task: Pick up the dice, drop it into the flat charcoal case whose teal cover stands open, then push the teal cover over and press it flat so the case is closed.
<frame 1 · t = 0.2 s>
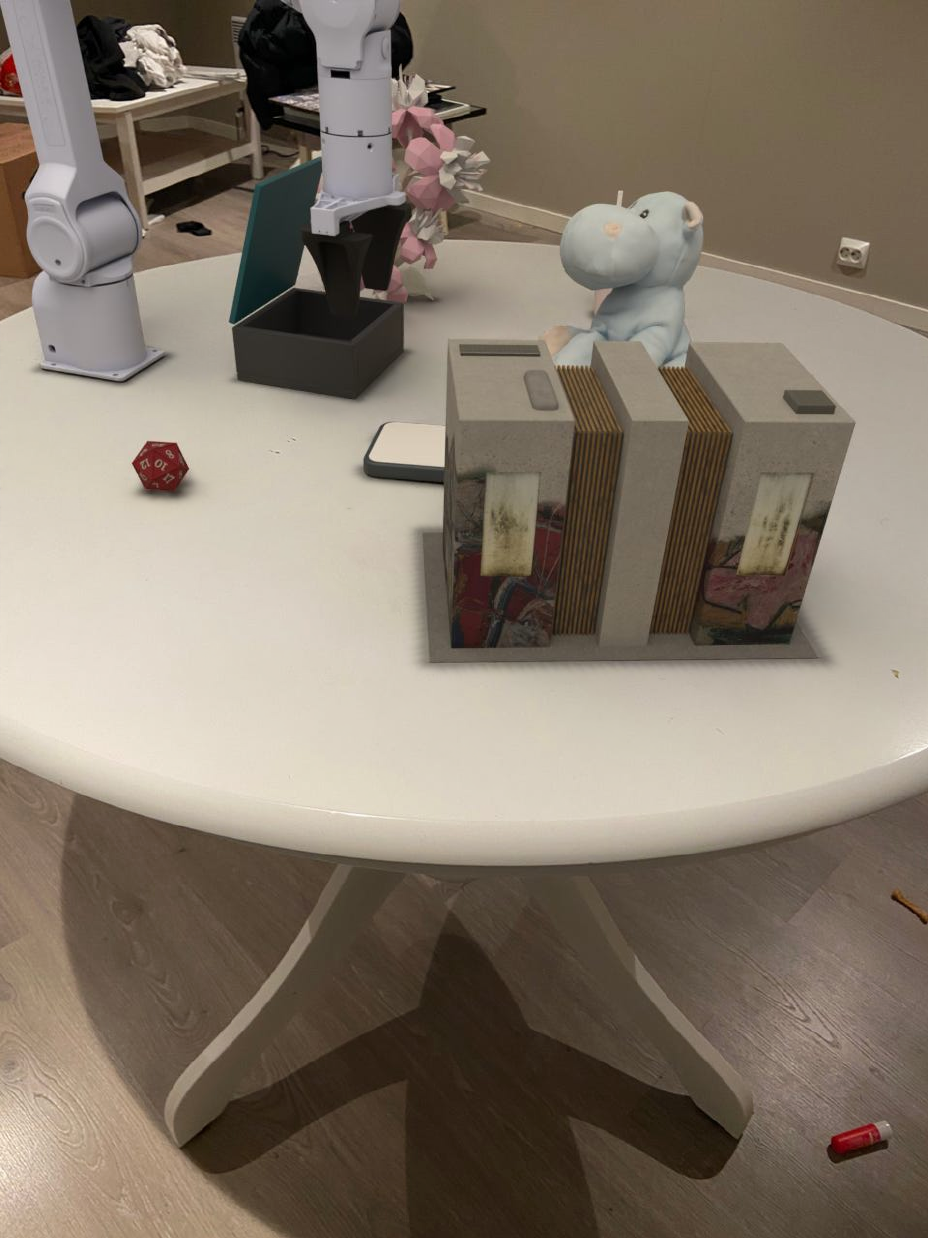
hand: (360, 301, 84), 10 cm above the table, tool pointing down, fingers open, 7 cm apart
cover: (277, 239, 92), point 12 cm above the table, hinge at 72.0°
smoothie: (609, 318, 114), on the table
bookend: (603, 592, 67), on the table
dice: (165, 490, 76), on the table
flower: (387, 313, 113), on the table
phone case: (463, 464, 82), on the table
case: (323, 365, 98), on the table
hippo plush: (631, 389, 97), on the table
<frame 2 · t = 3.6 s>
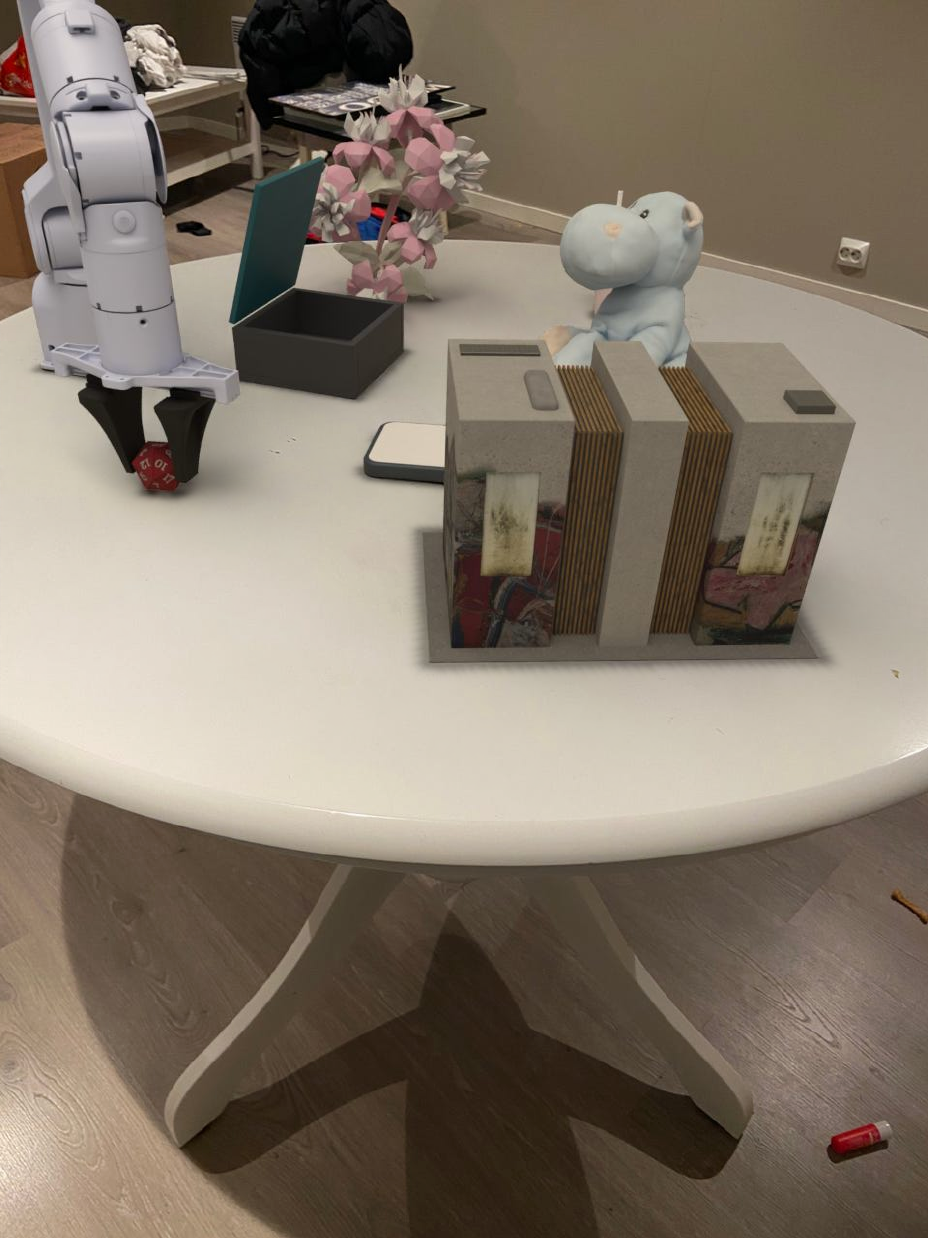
hand: (161, 472, 75), 1 cm above the table, tool pointing down, fingers closed on dice, 4 cm apart
dice: (165, 490, 76), on the table, touching gripper
everything else where it was.
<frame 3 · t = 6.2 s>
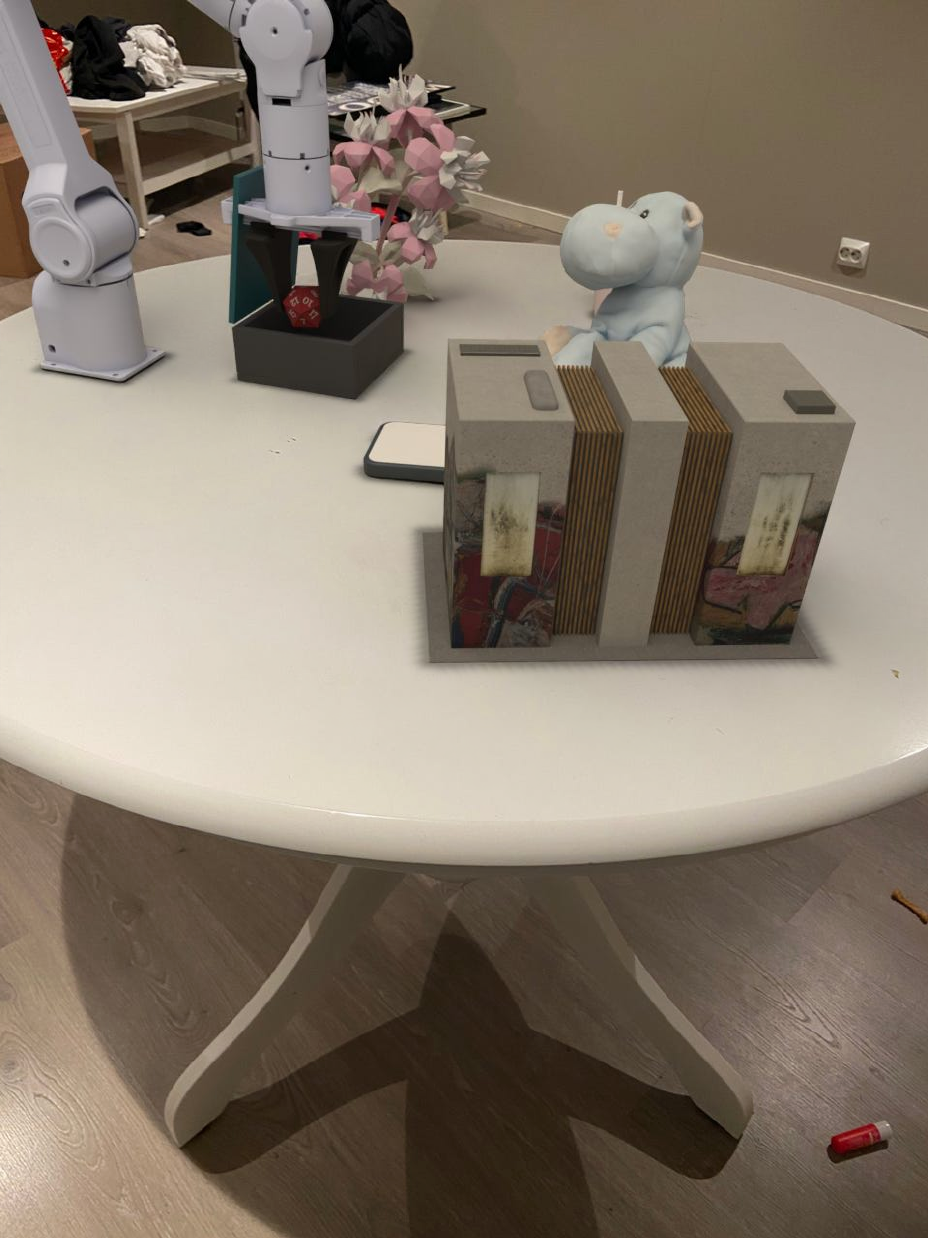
hand: (305, 311, 90), 7 cm above the table, tool pointing down, fingers closed on dice, 4 cm apart
cover: (267, 235, 92), point 12 cm above the table, hinge at 80.9°
dice: (308, 329, 91), point 6 cm above the table, touching gripper
everything else where it was.
when the fingers open (2 cm above the table, at t = 8.6 s): dice stays where it is, resting on case.
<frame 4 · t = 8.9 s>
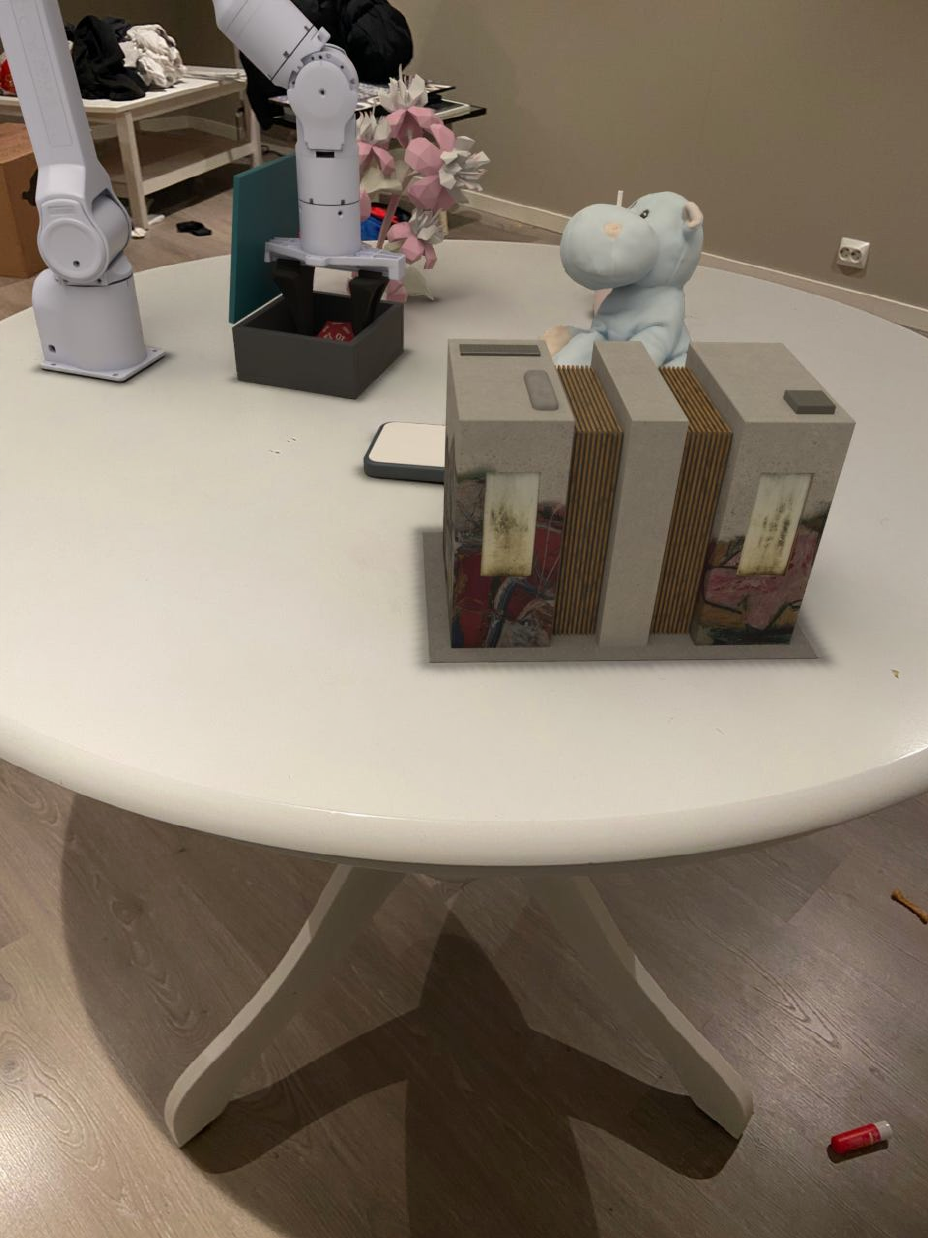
hand: (334, 341, 97), 3 cm above the table, tool pointing down, fingers open, 6 cm apart
dice: (338, 361, 98), point 1 cm above the table, touching case
everything else where it was.
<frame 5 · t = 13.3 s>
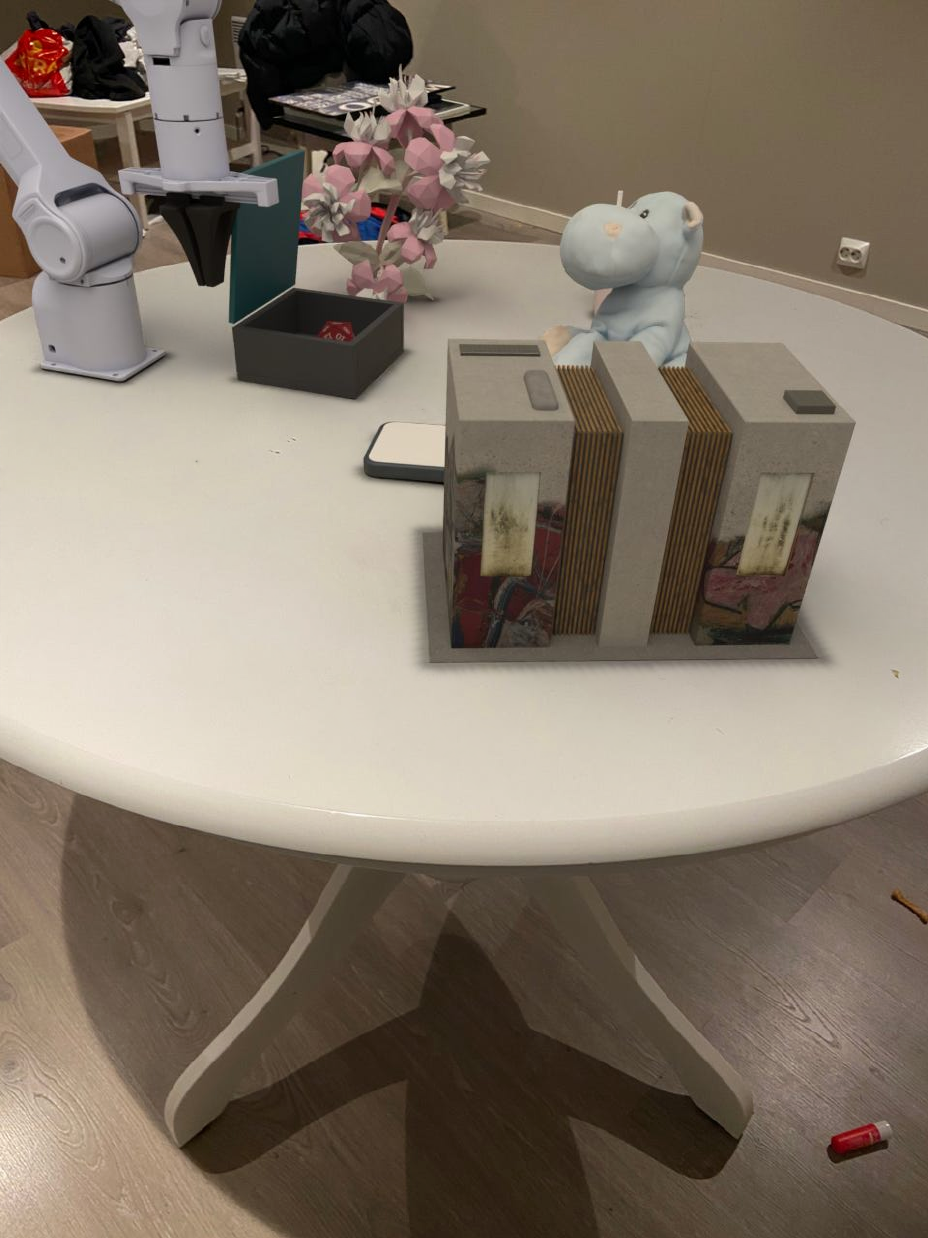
hand: (211, 283, 87), 10 cm above the table, tool pointing down, fingers closed
cover: (267, 235, 92), point 12 cm above the table, hinge at 81.0°, touching gripper
everything else where it was.
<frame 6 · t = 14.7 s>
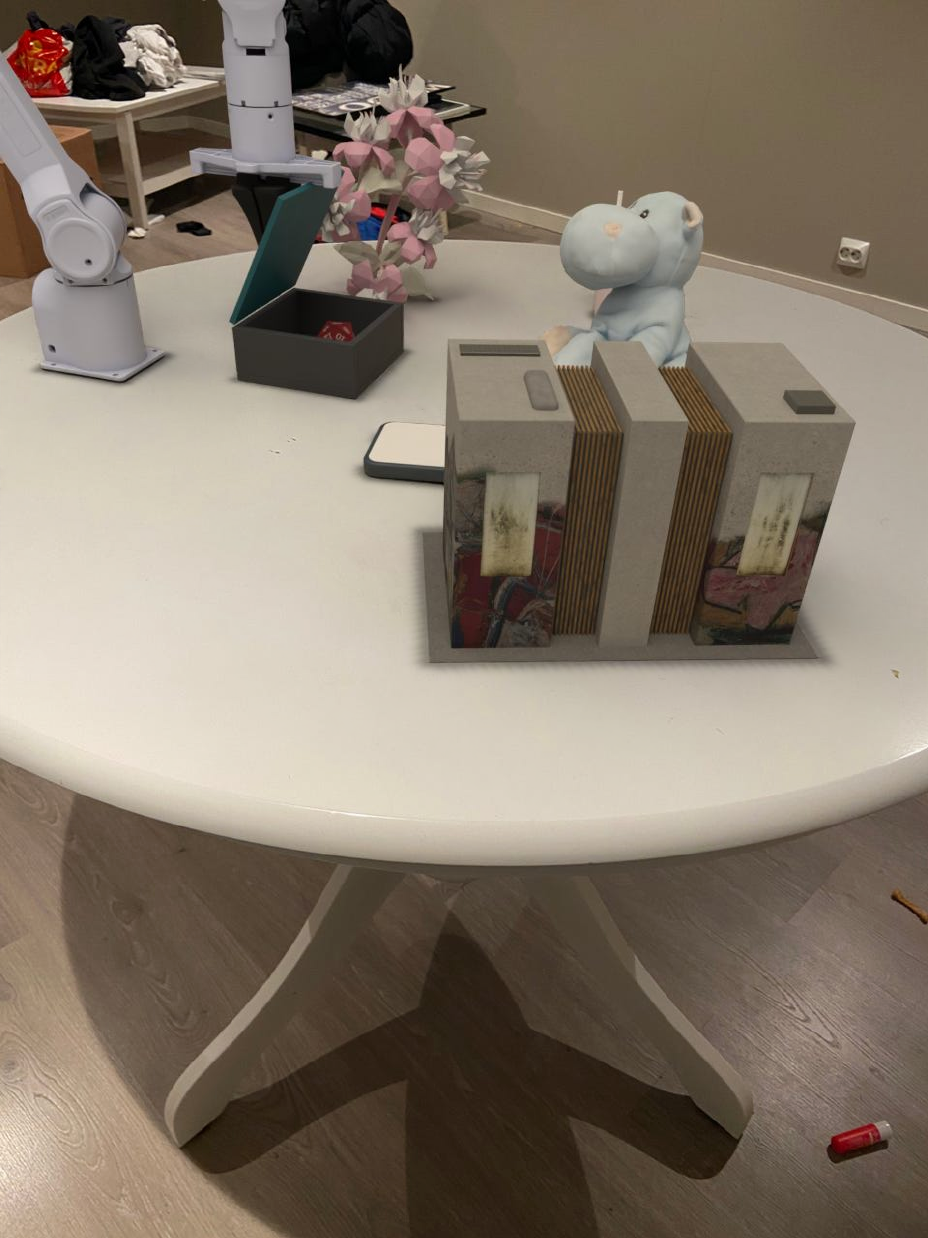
hand: (272, 258, 94), 10 cm above the table, tool pointing down, fingers closed
cover: (287, 245, 92), point 12 cm above the table, hinge at 62.2°, touching gripper
everything else where it was.
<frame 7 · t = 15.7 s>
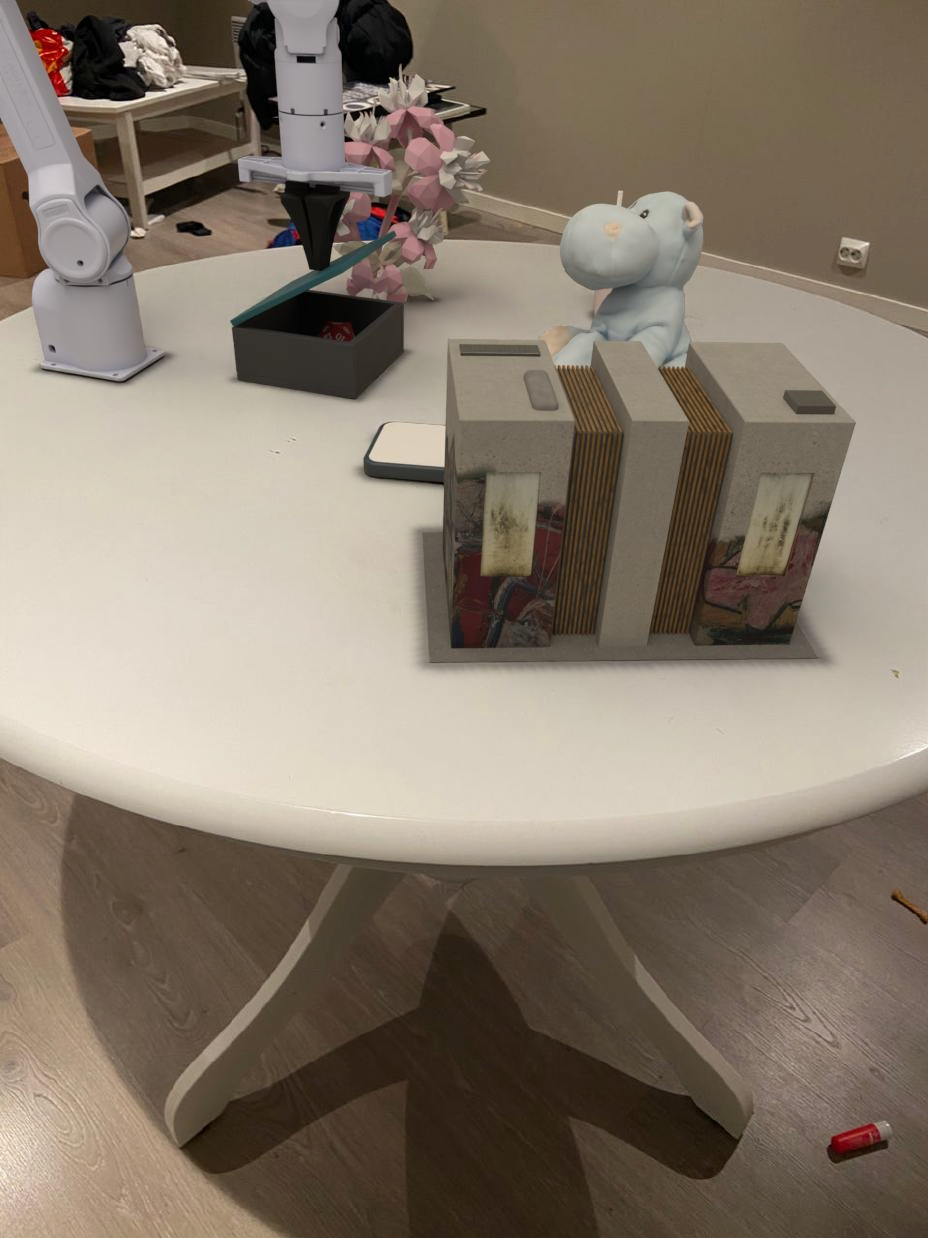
hand: (319, 267, 93), 10 cm above the table, tool pointing down, fingers closed
cover: (315, 277, 93), point 9 cm above the table, hinge at 28.9°, touching gripper
everything else where it was.
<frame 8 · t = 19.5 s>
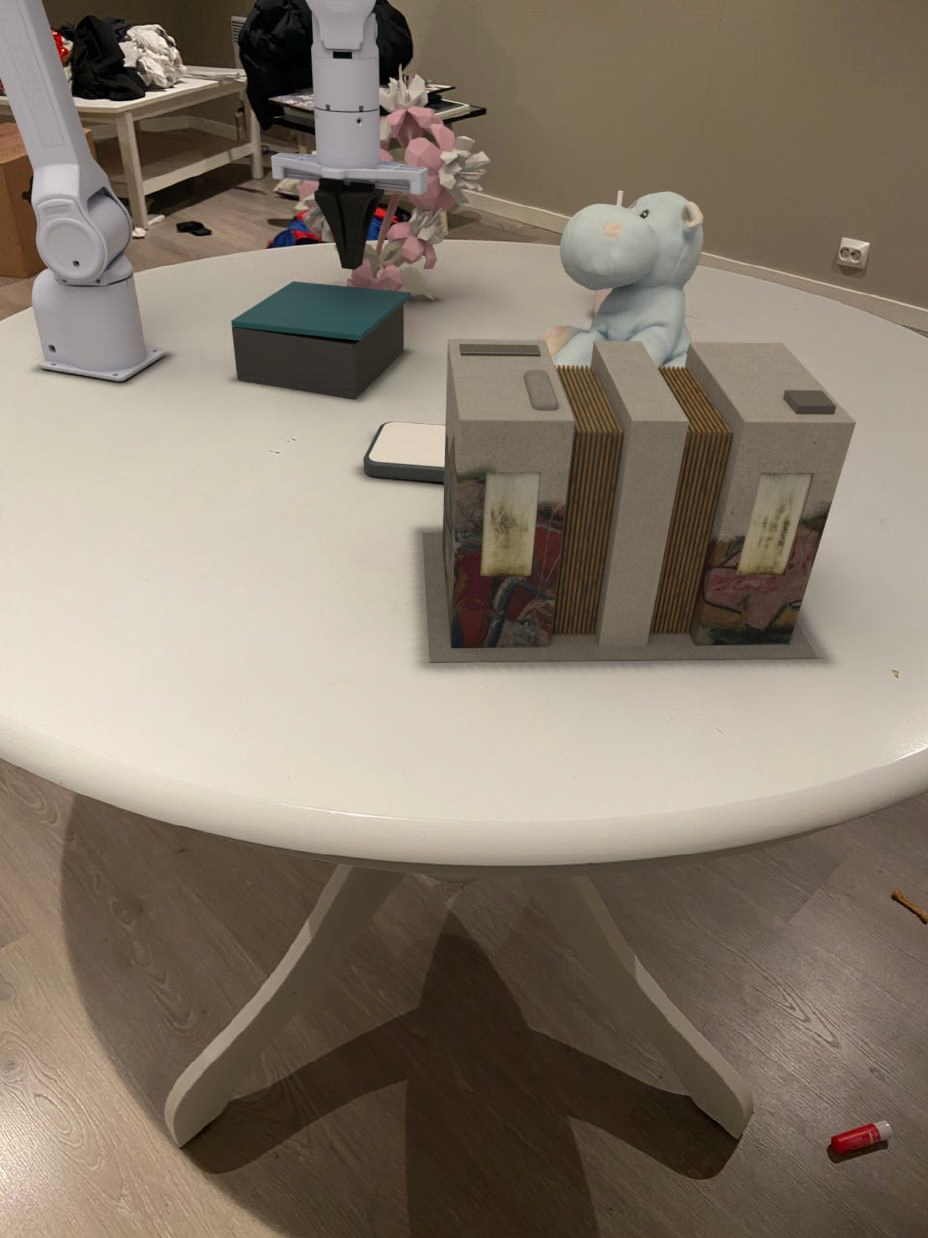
hand: (352, 266, 92), 10 cm above the table, tool pointing down, fingers closed
cover: (324, 308, 95), point 6 cm above the table, hinge at 2.2°
everything else where it was.
at the end: dice inside the target area in the case (1.6 cm from its centre), point 0.6 cm above the case's base; cover at +2° (first picture: +72°) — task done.
